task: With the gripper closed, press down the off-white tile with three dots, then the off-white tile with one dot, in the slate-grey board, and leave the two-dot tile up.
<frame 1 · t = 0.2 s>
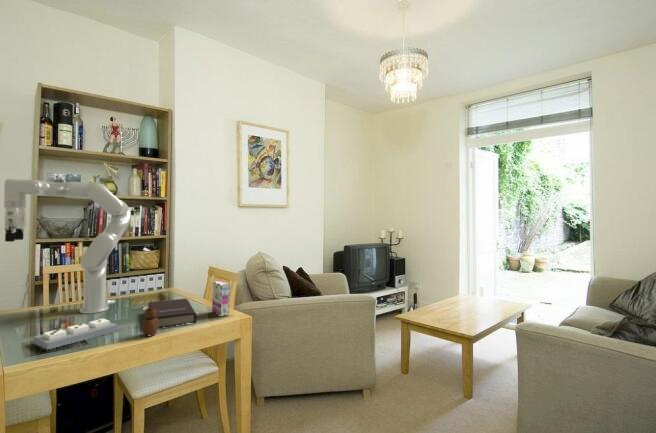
hand: (14, 240, 160), 37 cm above the table, tool pointing down, fingers open, 9 cm apart
one dot tile: (99, 324, 145), point 3 cm above the table, slide at 0.0 cm
book: (171, 319, 166), on the table
wooden figurine: (150, 335, 143), on the table
two dot tile: (78, 329, 138), point 3 cm above the table, slide at 0.0 cm
three dot tile: (55, 335, 131), point 3 cm above the table, slide at 0.0 cm
tile board: (78, 337, 138), on the table
candy bar box: (220, 314, 175), on the table
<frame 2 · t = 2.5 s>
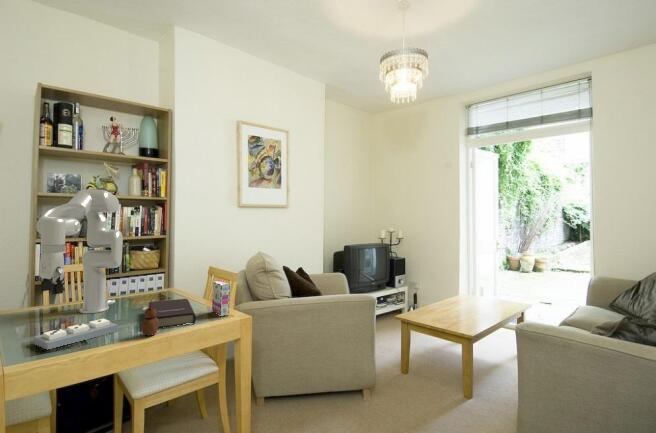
hand: (51, 292, 132), 20 cm above the table, tool pointing down, fingers open, 9 cm apart
nothing on the table moved.
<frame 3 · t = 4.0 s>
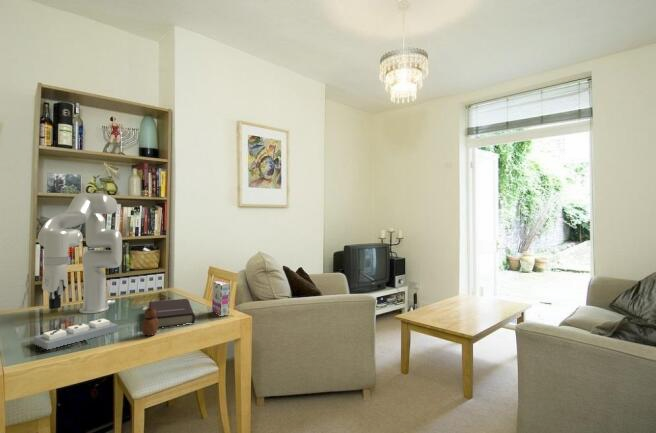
hand: (54, 308, 130), 14 cm above the table, tool pointing down, fingers closed
nothing on the table moved.
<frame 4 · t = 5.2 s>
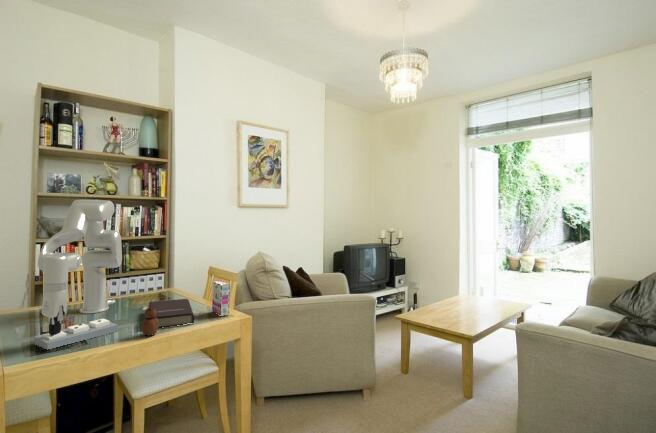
hand: (54, 333, 131), 4 cm above the table, tool pointing down, fingers closed
three dot tile: (54, 337, 131), point 3 cm above the table, slide at 0.7 cm, touching gripper
everything else where it was.
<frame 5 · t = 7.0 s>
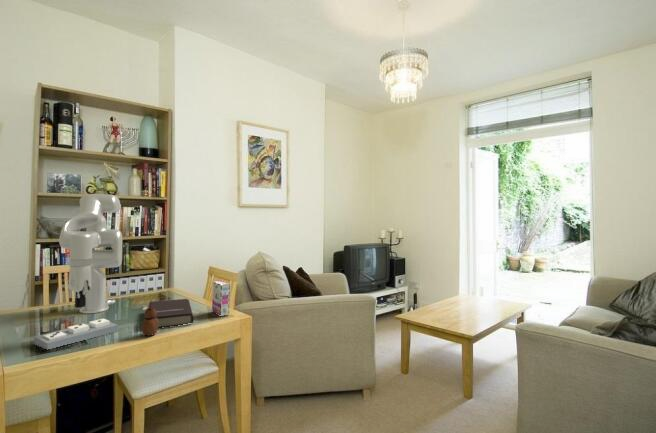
hand: (80, 306, 138), 13 cm above the table, tool pointing down, fingers closed
three dot tile: (54, 338, 131), point 2 cm above the table, slide at 1.0 cm, touching tile board
everything else where it was.
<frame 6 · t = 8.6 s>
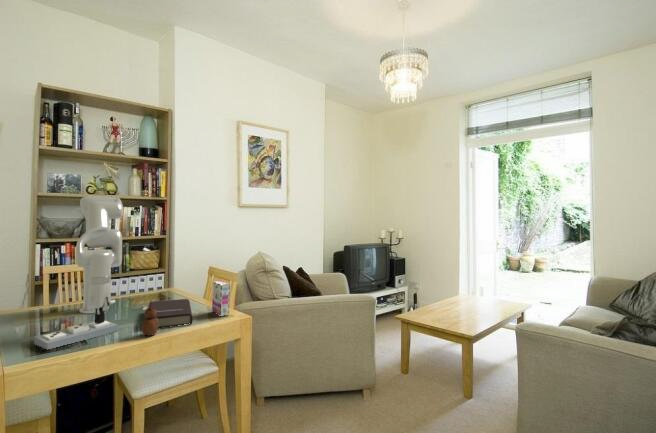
hand: (99, 322, 145), 4 cm above the table, tool pointing down, fingers closed
one dot tile: (99, 326, 145), point 3 cm above the table, slide at 0.7 cm, touching gripper
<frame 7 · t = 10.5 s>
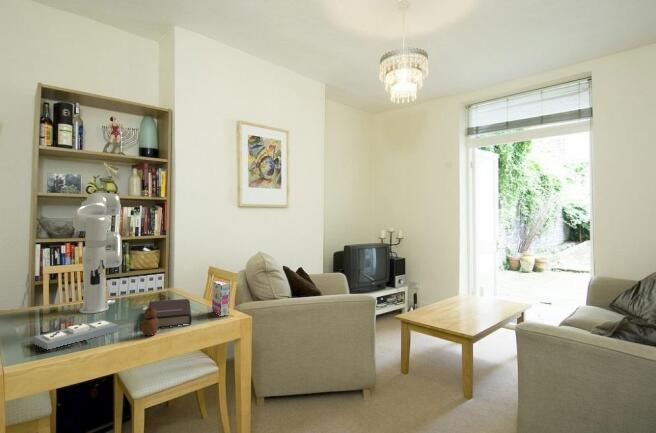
hand: (95, 284, 150), 20 cm above the table, tool pointing down, fingers closed
one dot tile: (99, 326, 145), point 2 cm above the table, slide at 1.0 cm, touching tile board
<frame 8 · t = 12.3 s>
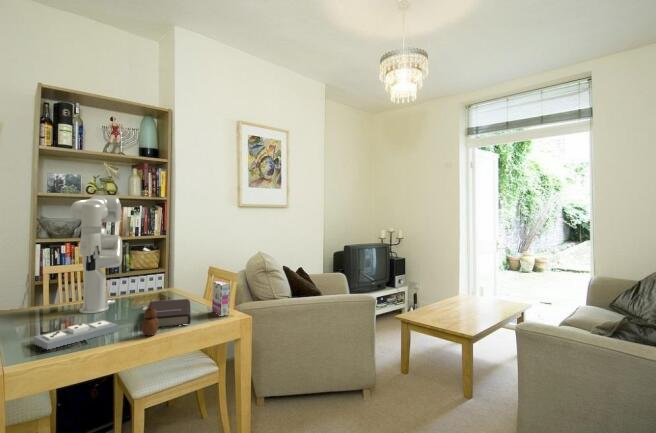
hand: (90, 270, 153), 25 cm above the table, tool pointing down, fingers closed
at the end: three dot tile slide at 1.0 cm; one dot tile slide at 1.0 cm; two dot tile slide at 0.0 cm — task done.
